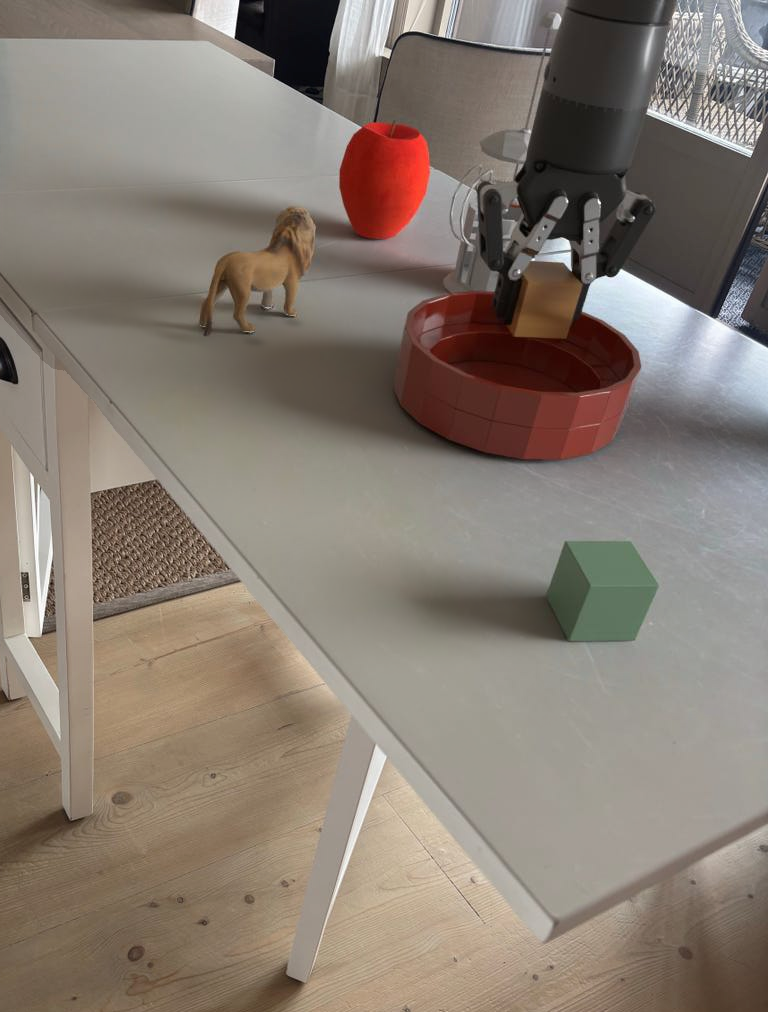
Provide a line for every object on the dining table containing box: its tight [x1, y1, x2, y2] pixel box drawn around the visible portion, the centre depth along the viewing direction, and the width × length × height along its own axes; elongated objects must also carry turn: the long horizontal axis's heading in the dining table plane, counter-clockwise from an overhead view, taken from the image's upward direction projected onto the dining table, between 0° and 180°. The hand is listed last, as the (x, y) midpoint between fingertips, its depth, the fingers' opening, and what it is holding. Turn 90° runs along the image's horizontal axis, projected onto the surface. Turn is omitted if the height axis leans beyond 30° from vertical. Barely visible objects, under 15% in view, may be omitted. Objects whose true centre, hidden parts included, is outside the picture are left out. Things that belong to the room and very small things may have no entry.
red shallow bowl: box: [393, 291, 642, 461], centre depth 81 cm, size 19×19×6 cm
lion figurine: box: [198, 206, 317, 337], centre depth 89 cm, size 15×5×9 cm, turn 145°
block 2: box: [545, 540, 660, 642], centre depth 61 cm, size 4×4×4 cm
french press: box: [442, 11, 562, 293], centre depth 94 cm, size 10×12×25 cm
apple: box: [338, 120, 431, 240], centre depth 107 cm, size 10×10×12 cm
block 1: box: [506, 260, 582, 339], centre depth 78 cm, size 4×4×4 cm
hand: (533, 321), depth 80 cm, fingers closed on block 1, 4 cm apart
